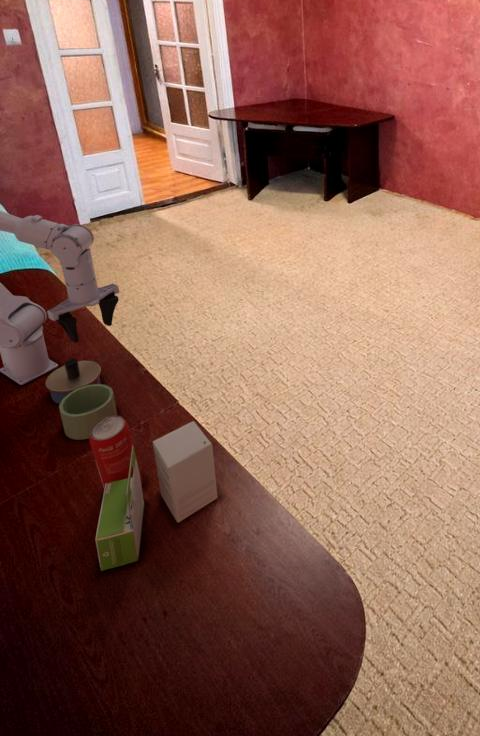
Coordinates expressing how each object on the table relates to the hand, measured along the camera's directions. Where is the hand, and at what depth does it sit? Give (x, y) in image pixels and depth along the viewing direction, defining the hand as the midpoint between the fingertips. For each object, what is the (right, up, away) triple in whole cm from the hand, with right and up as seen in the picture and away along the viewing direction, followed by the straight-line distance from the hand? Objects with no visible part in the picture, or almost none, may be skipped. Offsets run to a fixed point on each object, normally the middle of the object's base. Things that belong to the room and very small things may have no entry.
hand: (91, 332), depth 111 cm
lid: (-1, -9, -4) cm, 10 cm away
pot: (+7, -16, -11) cm, 21 cm away
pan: (-1, -12, -3) cm, 13 cm away
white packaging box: (+34, -23, -26) cm, 48 cm away
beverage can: (+22, -22, -25) cm, 40 cm away
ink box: (+26, -25, -33) cm, 49 cm away
